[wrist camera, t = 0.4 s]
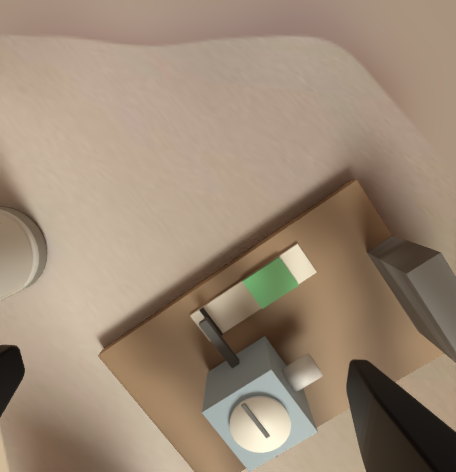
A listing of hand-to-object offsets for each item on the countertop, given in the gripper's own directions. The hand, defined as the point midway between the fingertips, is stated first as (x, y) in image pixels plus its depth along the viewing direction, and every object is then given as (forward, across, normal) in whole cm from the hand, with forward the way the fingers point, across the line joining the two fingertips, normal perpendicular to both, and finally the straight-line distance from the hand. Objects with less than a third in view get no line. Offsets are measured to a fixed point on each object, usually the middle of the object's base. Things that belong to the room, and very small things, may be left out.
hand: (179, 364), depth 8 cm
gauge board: (+13, -4, +10) cm, 17 cm away
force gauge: (+12, -2, +9) cm, 15 cm away
